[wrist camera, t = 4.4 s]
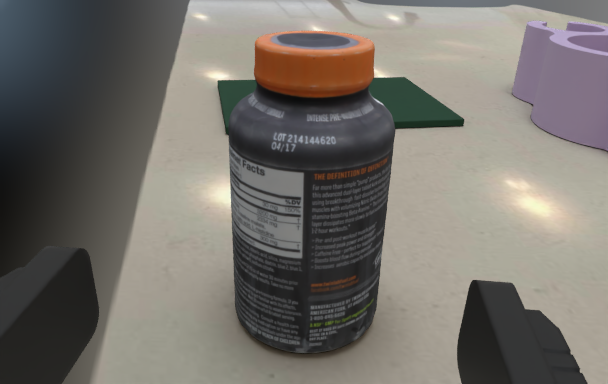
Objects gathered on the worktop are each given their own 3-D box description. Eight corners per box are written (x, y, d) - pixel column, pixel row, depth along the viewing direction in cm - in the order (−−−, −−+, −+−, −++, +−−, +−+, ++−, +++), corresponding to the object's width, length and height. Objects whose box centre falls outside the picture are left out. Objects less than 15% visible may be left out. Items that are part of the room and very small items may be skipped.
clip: (482, 86, 56) (495, 19, 53) (592, 88, 57) (611, 22, 54) (586, 160, 38) (615, 66, 35) (743, 160, 39) (784, 68, 36)
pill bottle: (358, 265, 25) (382, 23, 20) (391, 354, 20) (434, 56, 15) (234, 270, 25) (226, 20, 20) (234, 364, 19) (223, 55, 14)
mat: (226, 134, 41) (226, 127, 40) (217, 86, 53) (217, 80, 53) (463, 125, 44) (464, 119, 44) (404, 82, 57) (404, 77, 56)
